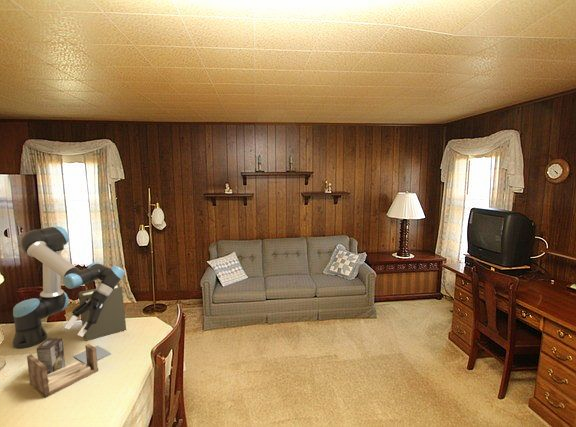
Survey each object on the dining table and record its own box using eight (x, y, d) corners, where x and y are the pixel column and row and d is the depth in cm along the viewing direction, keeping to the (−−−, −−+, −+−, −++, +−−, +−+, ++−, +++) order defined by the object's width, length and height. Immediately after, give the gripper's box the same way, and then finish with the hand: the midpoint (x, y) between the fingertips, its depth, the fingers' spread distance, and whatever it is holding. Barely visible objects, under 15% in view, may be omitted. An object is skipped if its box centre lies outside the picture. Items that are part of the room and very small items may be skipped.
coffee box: (52, 368, 155) (49, 337, 153) (65, 367, 155) (62, 337, 153) (39, 380, 146) (35, 348, 144) (53, 379, 146) (50, 347, 144)
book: (84, 342, 179) (79, 296, 175) (83, 335, 187) (78, 291, 183) (126, 330, 192) (121, 287, 188) (123, 324, 200) (119, 282, 195)
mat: (73, 357, 164) (73, 355, 164) (97, 346, 174) (97, 345, 174) (87, 365, 157) (86, 364, 157) (111, 354, 167) (111, 353, 167)
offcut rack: (30, 384, 143) (26, 356, 141) (82, 360, 161) (80, 334, 160) (45, 398, 135) (41, 367, 133) (98, 370, 153) (96, 344, 151)
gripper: (119, 301, 163) (91, 341, 152) (95, 291, 176) (67, 328, 166) (108, 295, 158) (79, 336, 147) (84, 285, 171) (55, 322, 160)
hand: (72, 332), depth 156 cm, fingers open, 13 cm apart
